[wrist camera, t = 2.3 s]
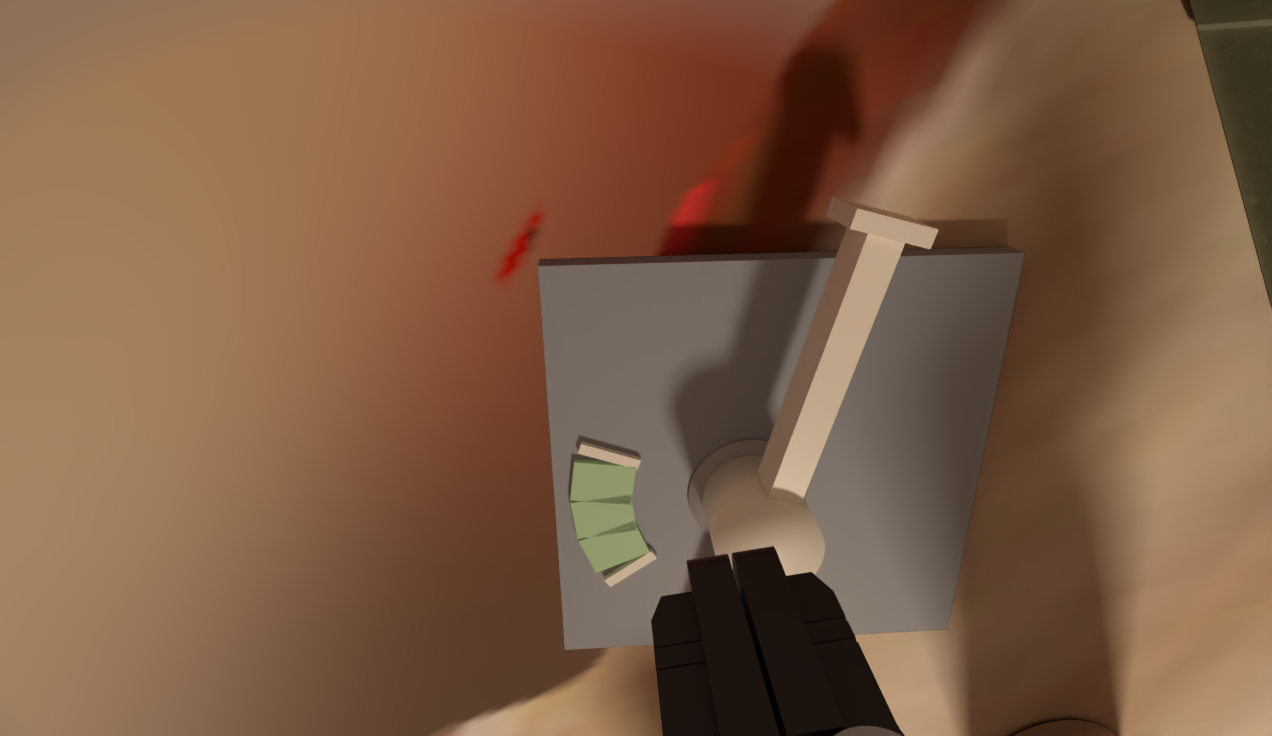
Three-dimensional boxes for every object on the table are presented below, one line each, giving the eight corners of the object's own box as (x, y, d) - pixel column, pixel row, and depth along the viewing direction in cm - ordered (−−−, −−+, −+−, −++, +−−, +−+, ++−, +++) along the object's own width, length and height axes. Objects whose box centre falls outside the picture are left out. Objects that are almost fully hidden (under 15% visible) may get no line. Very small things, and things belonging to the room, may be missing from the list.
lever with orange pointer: (742, 635, 35) (761, 704, 31) (659, 622, 34) (667, 691, 30) (908, 214, 27) (961, 236, 23) (804, 187, 26) (840, 204, 22)
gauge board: (936, 613, 37) (950, 634, 36) (565, 632, 36) (564, 654, 35) (1008, 246, 29) (1029, 254, 28) (540, 259, 28) (537, 267, 27)
